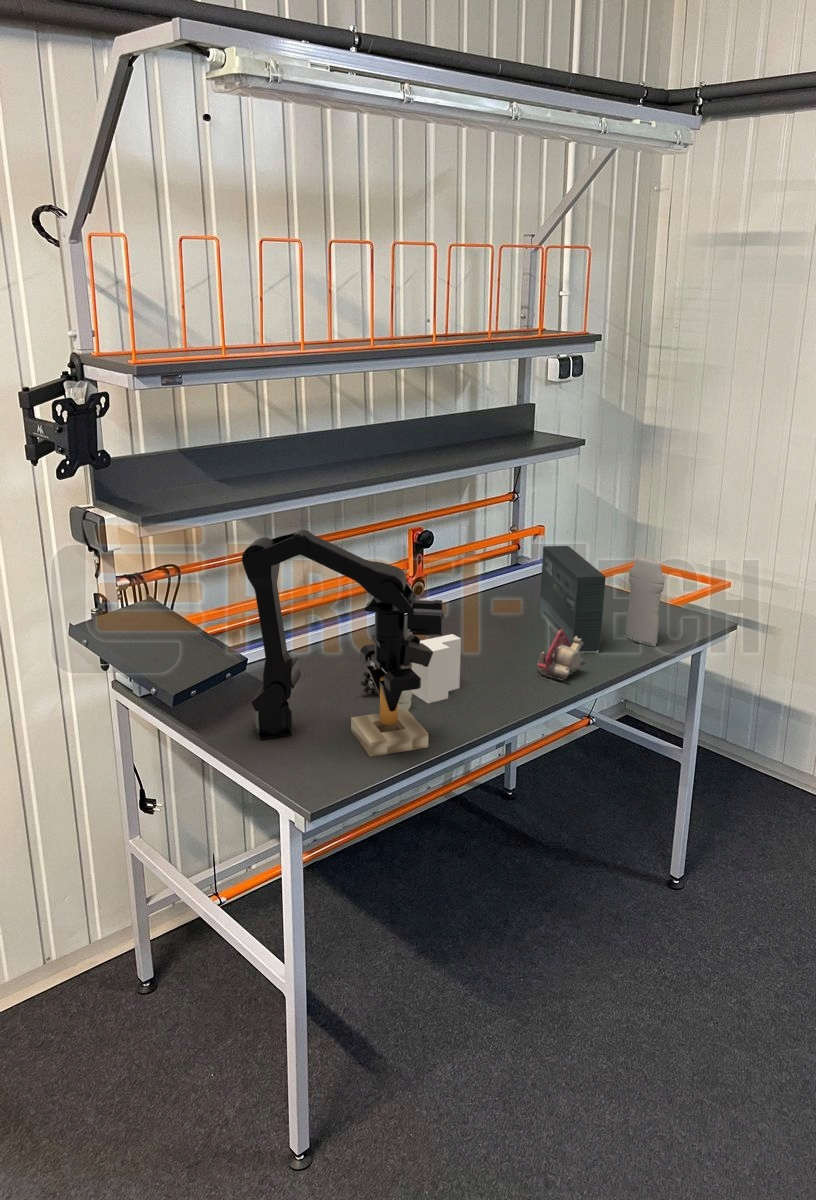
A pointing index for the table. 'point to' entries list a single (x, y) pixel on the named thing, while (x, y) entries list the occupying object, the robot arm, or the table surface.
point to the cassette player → (572, 595)
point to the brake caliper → (561, 657)
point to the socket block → (389, 734)
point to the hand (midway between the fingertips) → (388, 706)
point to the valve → (403, 700)
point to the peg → (387, 710)
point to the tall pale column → (644, 600)
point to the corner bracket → (439, 669)
